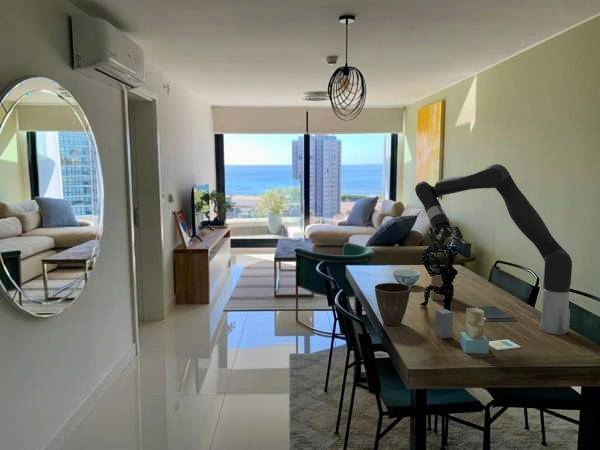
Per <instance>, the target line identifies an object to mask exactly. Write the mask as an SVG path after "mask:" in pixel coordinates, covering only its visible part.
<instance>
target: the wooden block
mask: <svg viewBox="0 0 600 450" xmlns="http://www.w3.org/2000/svg"><path fill="white" fill-rule="evenodd" d="M430 279H431V280H430V286H431V285H434V286H438V287H441V285H442V284H443V282H442V279H441V276H440V275H435V276H431V277H430ZM453 282H454V281H453ZM453 282H452V284H453ZM430 298H431V300H433V301H438V302H439V301H442V302H443V300H444V296H443V295H438V294H436V293H435V292H434V291H431V290H430Z"/></svg>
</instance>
